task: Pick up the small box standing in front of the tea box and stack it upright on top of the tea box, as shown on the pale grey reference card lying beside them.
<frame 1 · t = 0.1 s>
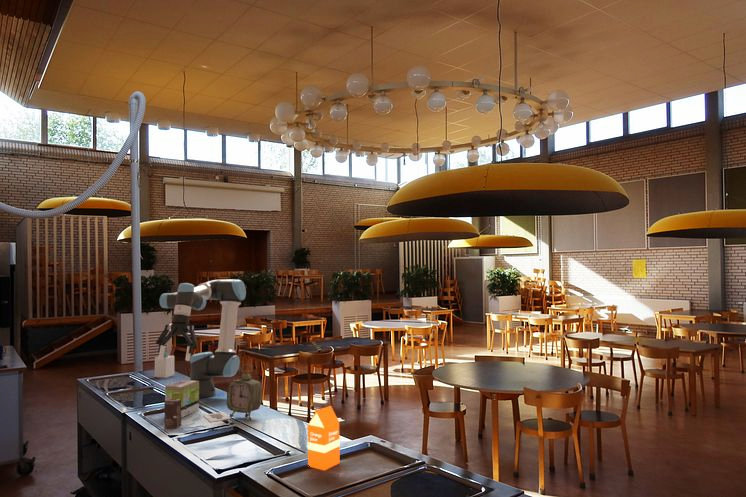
hand: (173, 360, 255), 28 cm above the counter, tool tilted 20°, fingers open, 13 cm apart
tabletop clock: (244, 418, 258), on the counter
tea box: (182, 413, 268), on the counter
reference card: (217, 417, 260), on the counter
box: (172, 427, 245), on the counter
soap bottle: (164, 376, 359), on the counter
orange juice: (324, 465, 197), on the counter
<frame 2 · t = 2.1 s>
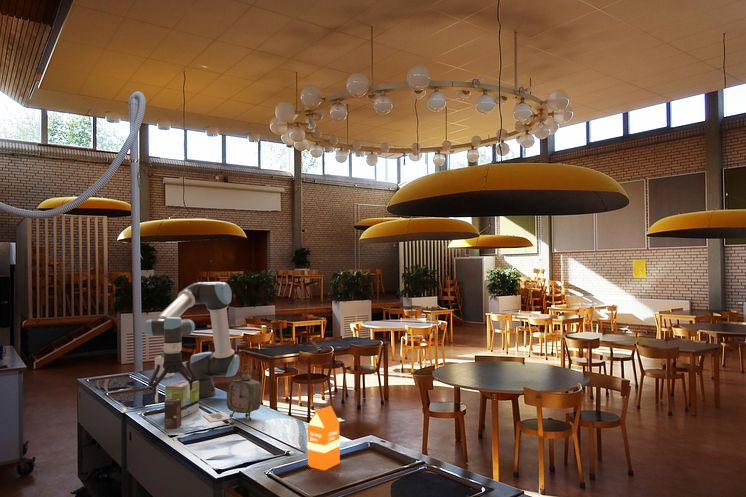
hand: (172, 400, 245), 12 cm above the counter, tool pointing down, fingers open, 13 cm apart
tabletop clock: (244, 418, 258), on the counter, touching reference card
everything else where it was.
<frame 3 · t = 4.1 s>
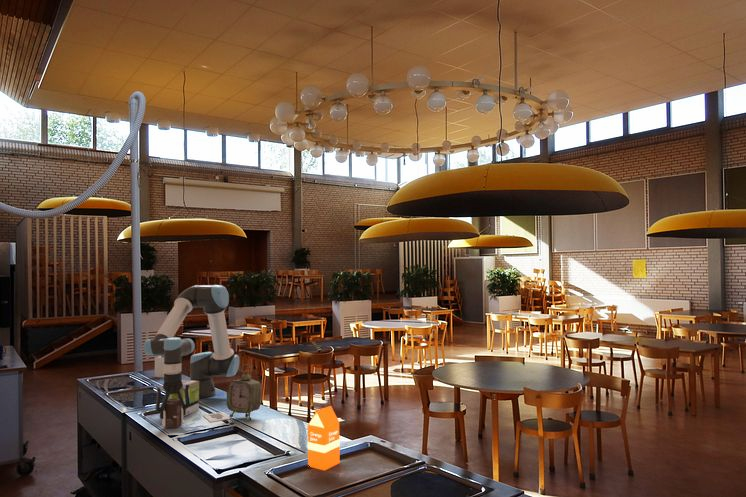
hand: (172, 424, 245), 1 cm above the counter, tool pointing down, fingers closed on box, 7 cm apart
box: (172, 427, 245), on the counter, touching gripper
everything else where it was.
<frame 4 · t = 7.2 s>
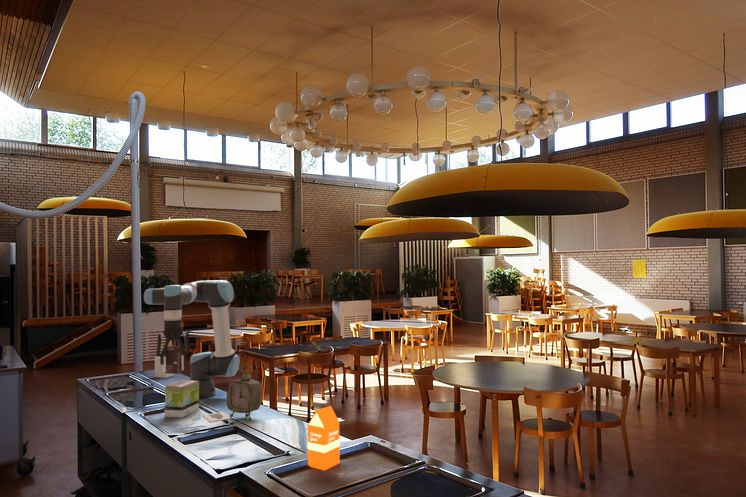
hand: (173, 370, 246), 25 cm above the counter, tool pointing down, fingers closed on box, 7 cm apart
box: (173, 373, 246), point 23 cm above the counter, touching gripper
everything else where it was.
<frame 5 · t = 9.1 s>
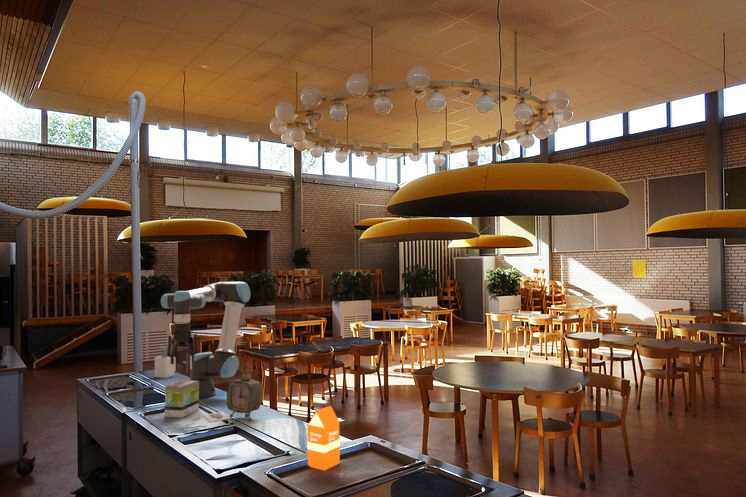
hand: (182, 369, 268), 21 cm above the counter, tool pointing down, fingers closed on box, 7 cm apart
box: (182, 372, 268), point 20 cm above the counter, touching gripper
everything else where it was.
when the fingers open (17 cm above the counter, at t = 10.6 s): box drops 2 cm, resting on tea box.
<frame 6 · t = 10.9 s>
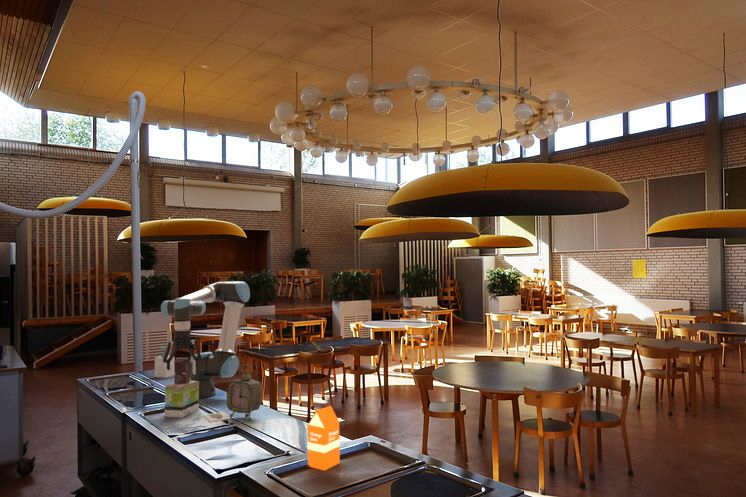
hand: (182, 375, 268), 18 cm above the counter, tool pointing down, fingers open, 10 cm apart
tea box: (182, 413, 268), on the counter, touching box
box: (182, 383, 268), point 15 cm above the counter, touching tea box
everything else where it was.
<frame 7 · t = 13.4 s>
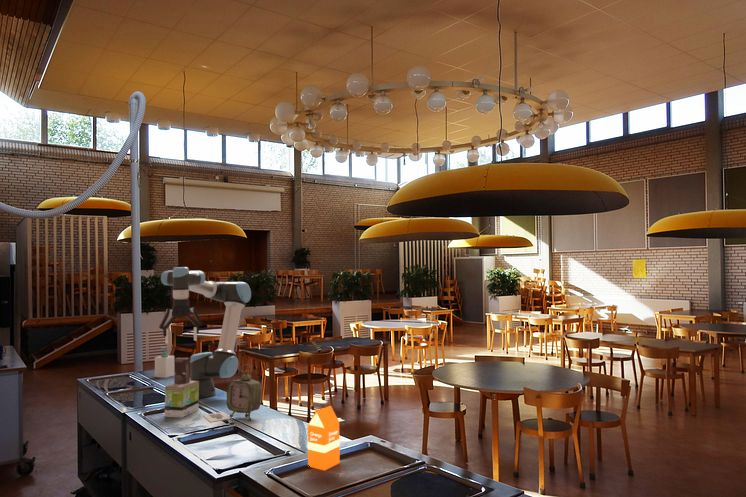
hand: (181, 341, 270), 34 cm above the counter, tool pointing down, fingers open, 13 cm apart
nothing on the counter moved.
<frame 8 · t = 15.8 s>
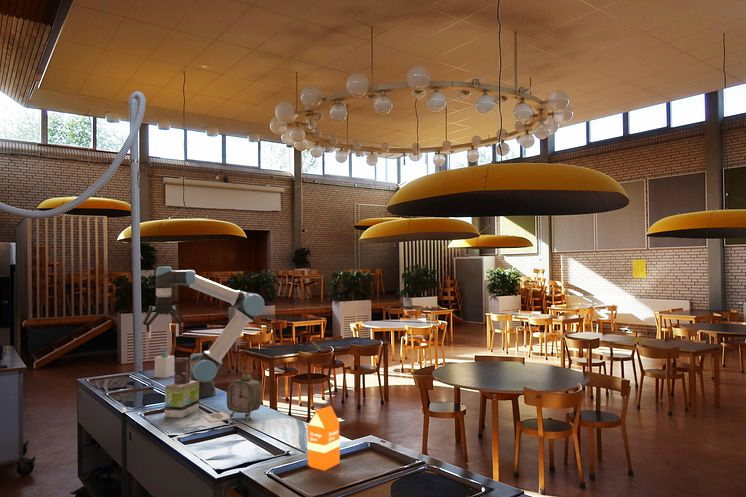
hand: (163, 337, 286), 35 cm above the counter, tool pointing down, fingers open, 13 cm apart
nothing on the counter moved.
at the end: box inside the target area on the tea box (0.1 cm from its centre), point 14.8 cm above the tea box's base; box tilted 0°; the gripper is holding nothing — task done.
